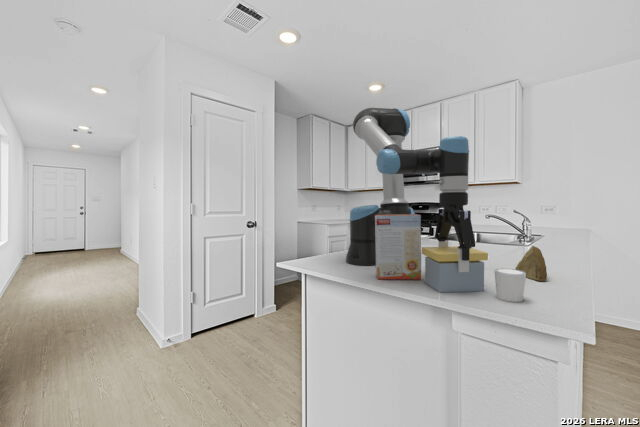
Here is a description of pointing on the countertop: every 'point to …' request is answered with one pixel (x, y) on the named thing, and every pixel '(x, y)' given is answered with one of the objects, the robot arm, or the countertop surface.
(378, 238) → the cracker box
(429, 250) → the lid
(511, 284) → the white cup
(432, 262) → the tub
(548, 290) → the countertop surface
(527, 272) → the rock
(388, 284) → the countertop surface
